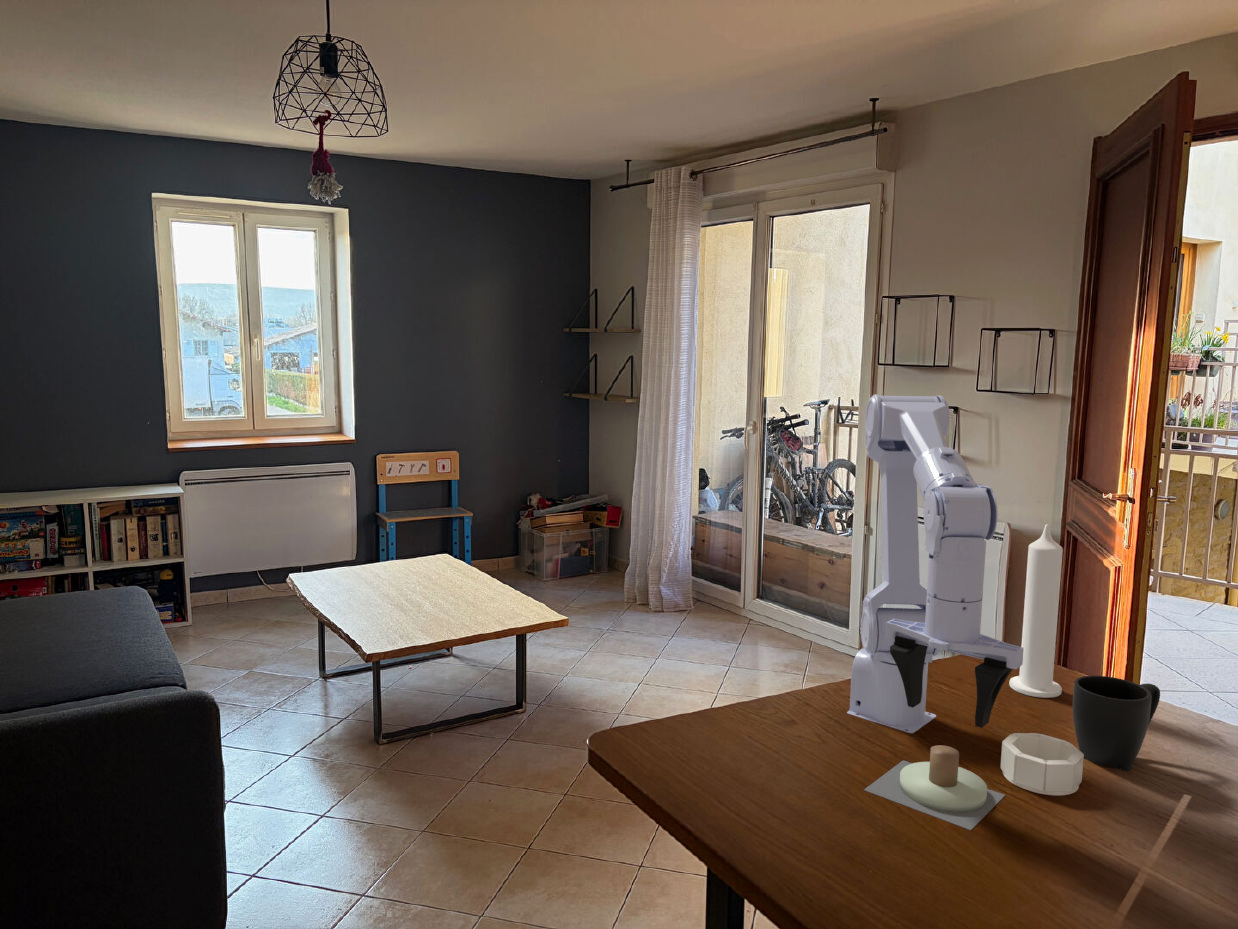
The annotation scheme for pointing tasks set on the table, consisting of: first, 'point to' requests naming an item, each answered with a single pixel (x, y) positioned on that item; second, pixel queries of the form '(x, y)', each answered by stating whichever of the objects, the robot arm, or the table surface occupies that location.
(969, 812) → the mat
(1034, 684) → the candle
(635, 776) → the table surface
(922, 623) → the robot arm
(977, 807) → the lid
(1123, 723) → the mug
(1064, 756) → the bowl
